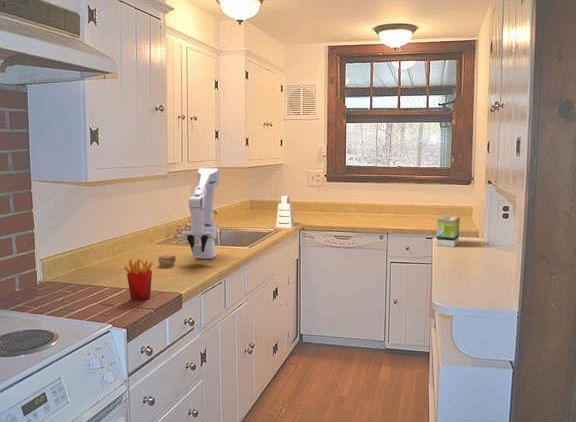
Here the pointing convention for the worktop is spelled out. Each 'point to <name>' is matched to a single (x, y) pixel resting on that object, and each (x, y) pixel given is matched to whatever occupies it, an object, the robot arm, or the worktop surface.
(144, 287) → the french fries
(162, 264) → the slab base
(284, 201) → the grater
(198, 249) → the gray cube
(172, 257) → the slab top
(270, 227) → the worktop surface
